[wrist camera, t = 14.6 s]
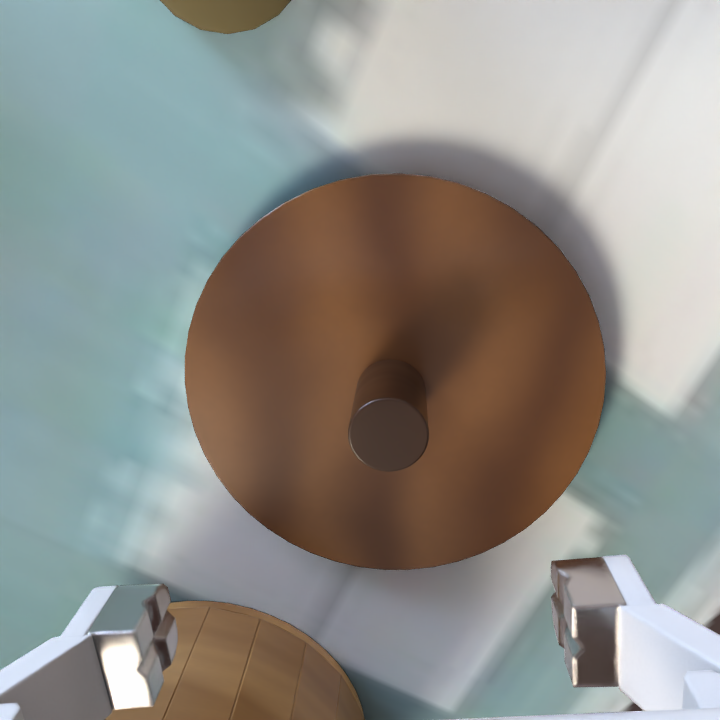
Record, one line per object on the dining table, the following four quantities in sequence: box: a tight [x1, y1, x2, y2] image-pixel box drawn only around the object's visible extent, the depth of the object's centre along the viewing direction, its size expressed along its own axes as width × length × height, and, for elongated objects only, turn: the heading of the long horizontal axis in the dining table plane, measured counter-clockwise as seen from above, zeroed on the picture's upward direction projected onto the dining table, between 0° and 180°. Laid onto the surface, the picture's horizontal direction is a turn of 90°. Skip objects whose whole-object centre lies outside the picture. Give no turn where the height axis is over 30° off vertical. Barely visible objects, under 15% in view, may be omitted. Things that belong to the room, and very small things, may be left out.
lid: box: [185, 173, 606, 570], centre depth 24 cm, size 16×16×5 cm
